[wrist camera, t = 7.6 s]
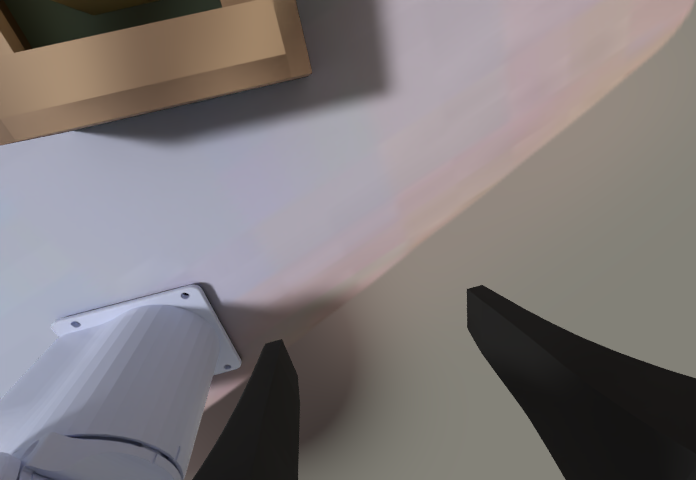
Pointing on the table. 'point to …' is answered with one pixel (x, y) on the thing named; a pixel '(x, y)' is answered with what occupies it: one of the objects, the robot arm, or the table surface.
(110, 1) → the yellow dimpled cube
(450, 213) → the table surface
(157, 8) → the piece box
